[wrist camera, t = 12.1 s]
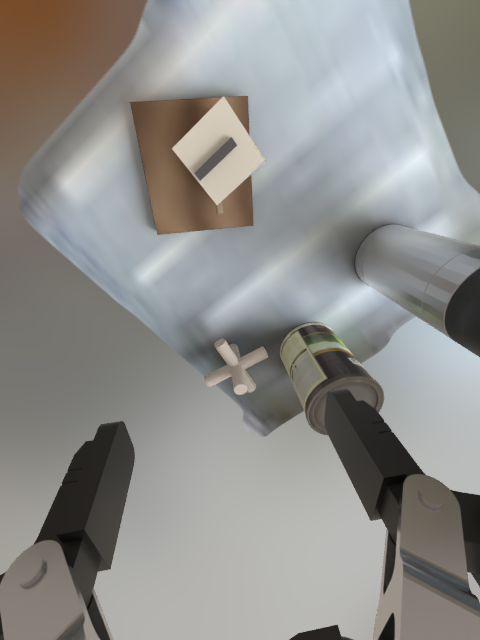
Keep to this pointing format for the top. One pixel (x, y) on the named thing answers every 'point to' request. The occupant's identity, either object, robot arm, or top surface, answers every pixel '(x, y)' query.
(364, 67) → the top surface
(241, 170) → the cream rectangular block
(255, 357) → the pipe connector
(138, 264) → the top surface
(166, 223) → the board
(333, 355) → the coffee can
